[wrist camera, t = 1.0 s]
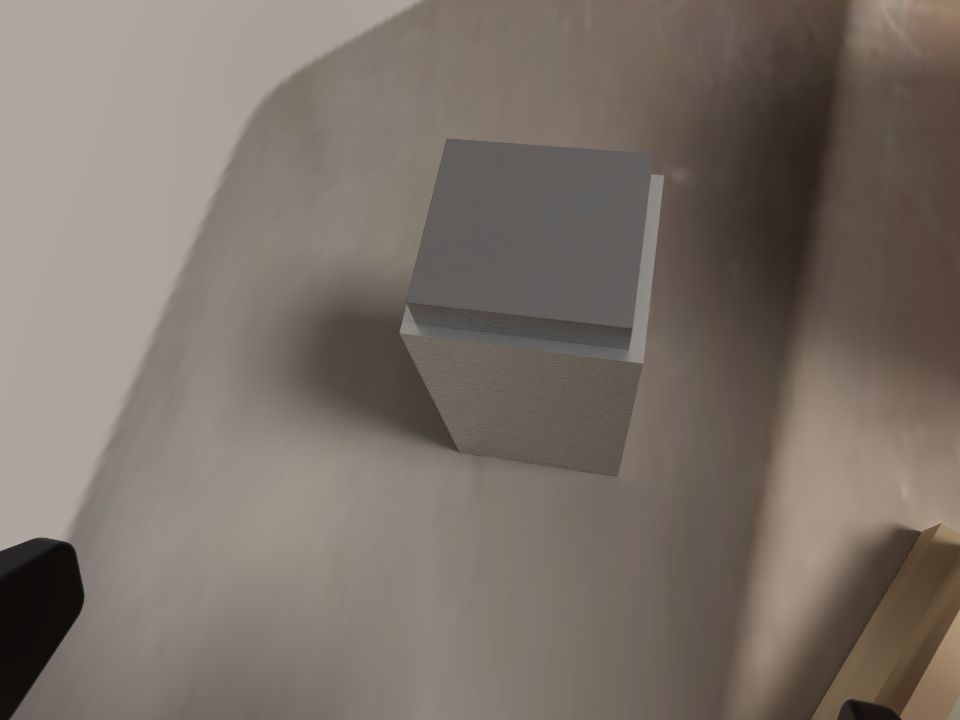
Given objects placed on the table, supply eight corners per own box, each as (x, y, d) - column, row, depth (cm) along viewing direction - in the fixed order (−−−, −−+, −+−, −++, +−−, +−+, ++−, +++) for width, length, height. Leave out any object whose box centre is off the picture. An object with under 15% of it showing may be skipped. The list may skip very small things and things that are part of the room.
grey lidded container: (617, 476, 23) (647, 342, 14) (459, 452, 24) (388, 311, 15) (633, 344, 24) (669, 145, 15) (485, 326, 25) (435, 128, 16)
